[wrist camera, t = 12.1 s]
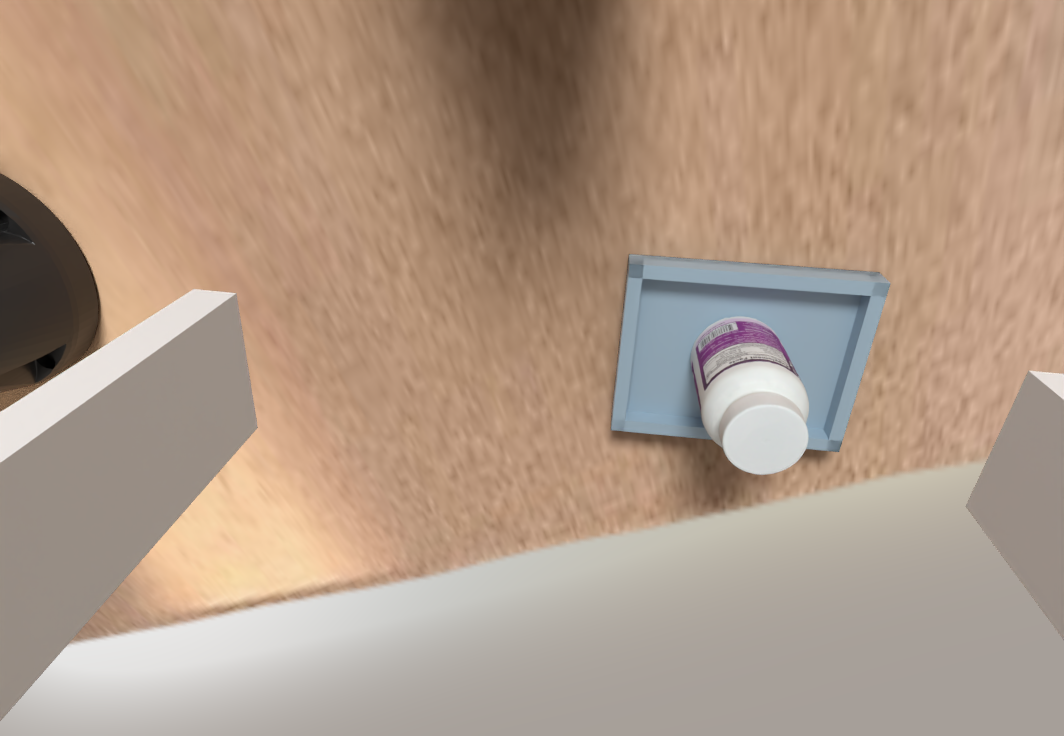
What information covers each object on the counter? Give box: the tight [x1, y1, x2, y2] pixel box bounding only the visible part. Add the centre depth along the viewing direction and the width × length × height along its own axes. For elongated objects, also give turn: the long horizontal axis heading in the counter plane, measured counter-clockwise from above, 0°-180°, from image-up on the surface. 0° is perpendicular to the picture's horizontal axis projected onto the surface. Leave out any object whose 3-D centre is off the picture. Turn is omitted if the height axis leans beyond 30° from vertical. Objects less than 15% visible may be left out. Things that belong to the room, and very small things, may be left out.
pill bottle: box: [690, 316, 809, 475], centre depth 36 cm, size 5×5×10 cm
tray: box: [611, 254, 890, 452], centre depth 40 cm, size 14×11×2 cm
